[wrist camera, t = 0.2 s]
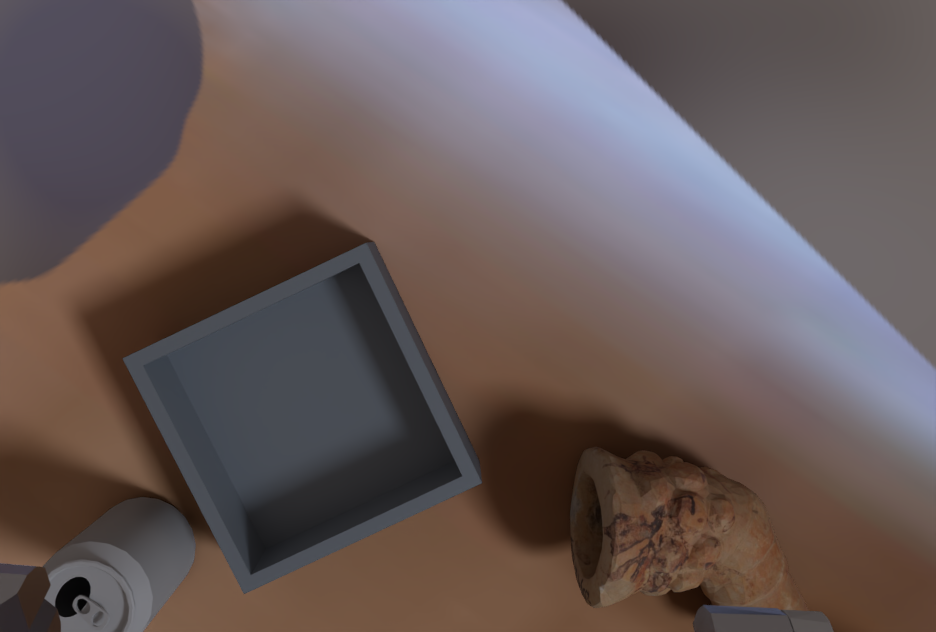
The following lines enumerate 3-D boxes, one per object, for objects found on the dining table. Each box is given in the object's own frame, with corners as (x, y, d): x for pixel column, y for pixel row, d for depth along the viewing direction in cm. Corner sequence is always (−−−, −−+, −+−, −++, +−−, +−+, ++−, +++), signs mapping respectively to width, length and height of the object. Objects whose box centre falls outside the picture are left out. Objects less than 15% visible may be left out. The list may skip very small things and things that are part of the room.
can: (133, 474, 66) (63, 527, 54) (218, 529, 66) (167, 594, 54) (79, 554, 66) (-4, 625, 54) (163, 609, 67) (100, 691, 55)
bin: (479, 460, 66) (481, 483, 60) (262, 561, 66) (244, 594, 60) (374, 241, 64) (366, 242, 58) (152, 346, 65) (122, 358, 59)
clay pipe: (672, 386, 70) (508, 469, 65) (754, 390, 59) (566, 488, 55) (758, 602, 71) (602, 697, 66) (853, 642, 61) (676, 757, 56)
